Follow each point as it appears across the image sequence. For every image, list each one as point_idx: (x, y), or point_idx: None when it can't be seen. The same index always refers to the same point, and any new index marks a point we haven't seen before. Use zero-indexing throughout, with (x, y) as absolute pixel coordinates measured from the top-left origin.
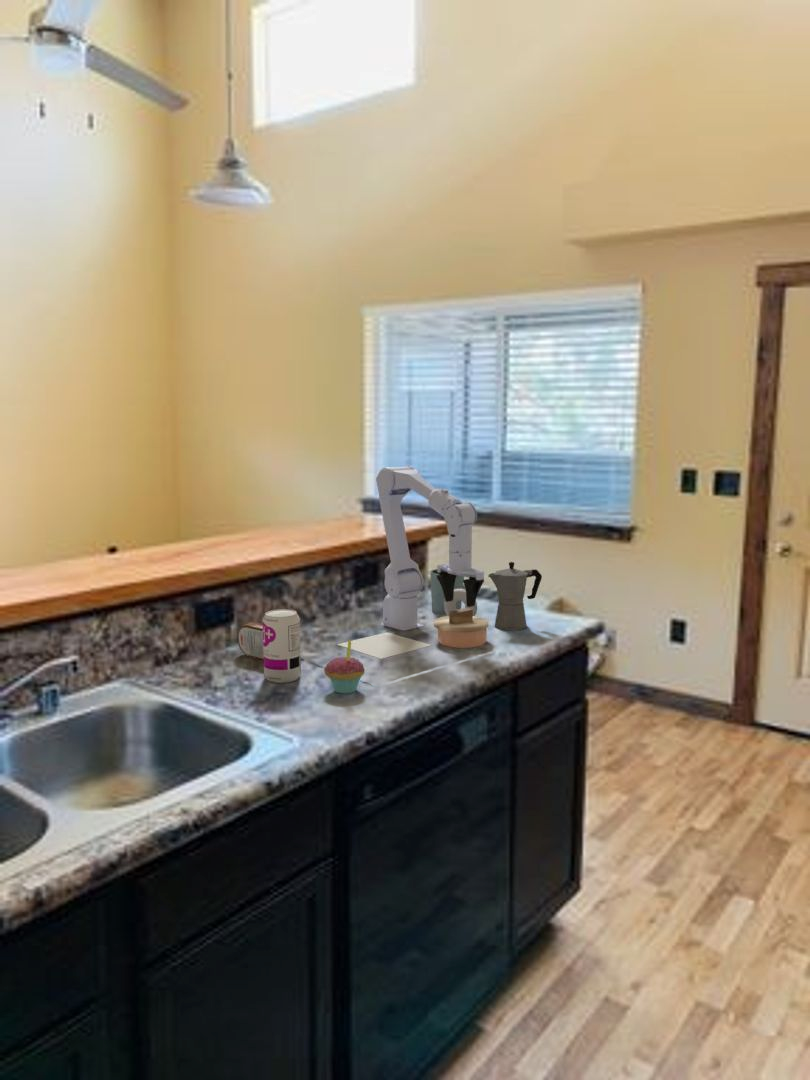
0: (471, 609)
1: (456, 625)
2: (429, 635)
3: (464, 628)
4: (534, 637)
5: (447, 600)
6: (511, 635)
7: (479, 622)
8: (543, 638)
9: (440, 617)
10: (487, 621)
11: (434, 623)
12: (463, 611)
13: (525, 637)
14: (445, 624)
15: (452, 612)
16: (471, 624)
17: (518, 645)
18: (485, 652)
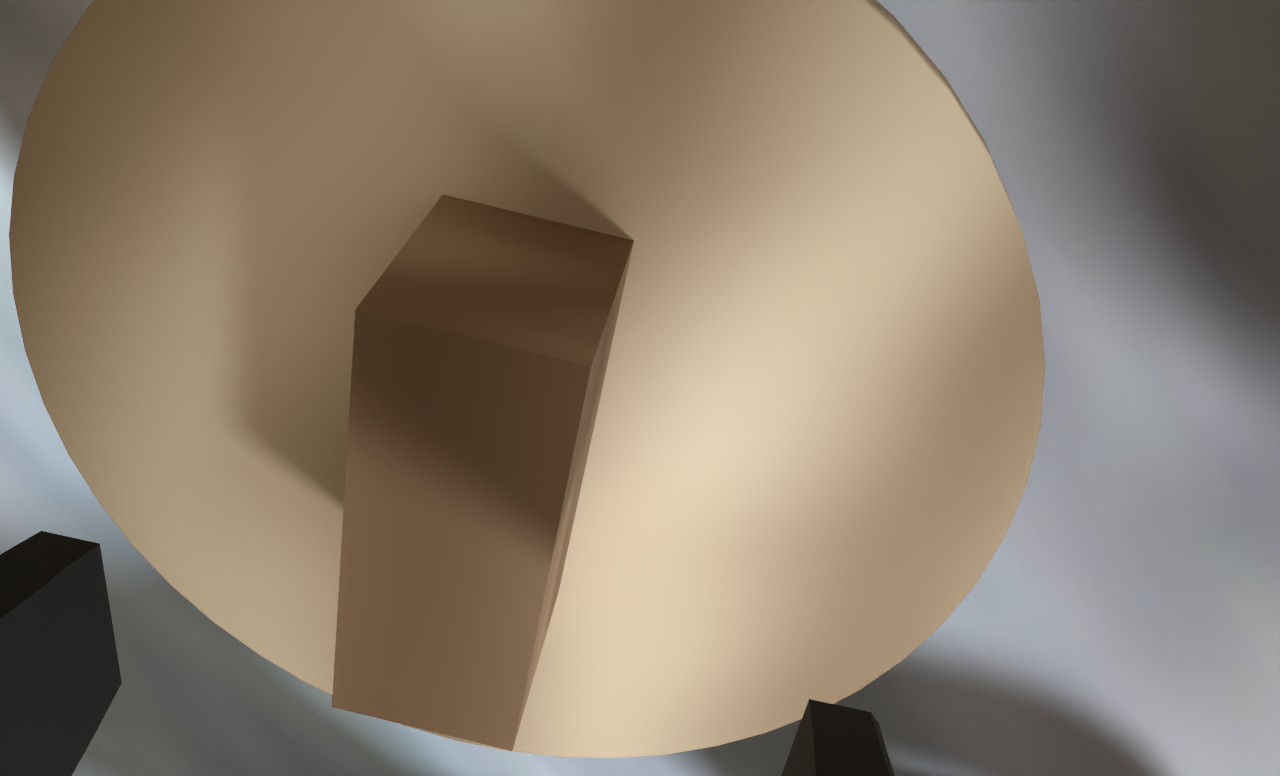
0: (349, 699)
1: (395, 156)
2: (1199, 346)
3: (118, 46)
4: (164, 766)
5: (809, 734)
6: (357, 741)
7: (258, 525)
8: (89, 770)
9: (1017, 492)
10: (221, 619)
11: (886, 27)
12: (346, 518)
13: (217, 738)
14: (622, 93)
15: (473, 335)
16: (250, 363)
17: (49, 503)
18: (51, 56)
